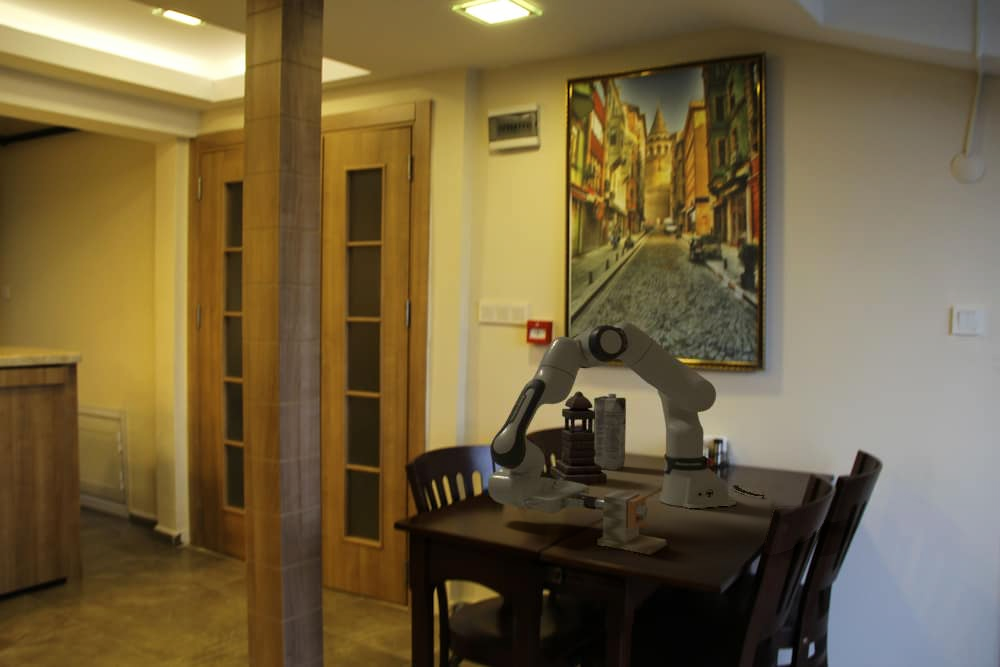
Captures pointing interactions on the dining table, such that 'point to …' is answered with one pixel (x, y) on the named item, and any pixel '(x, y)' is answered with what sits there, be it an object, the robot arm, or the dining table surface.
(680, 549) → the dining table surface
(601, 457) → the battery
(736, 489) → the curved wedge
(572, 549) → the dining table surface
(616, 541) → the bearing frame
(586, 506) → the shaft
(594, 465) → the miniature tower
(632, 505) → the orange upright panel
